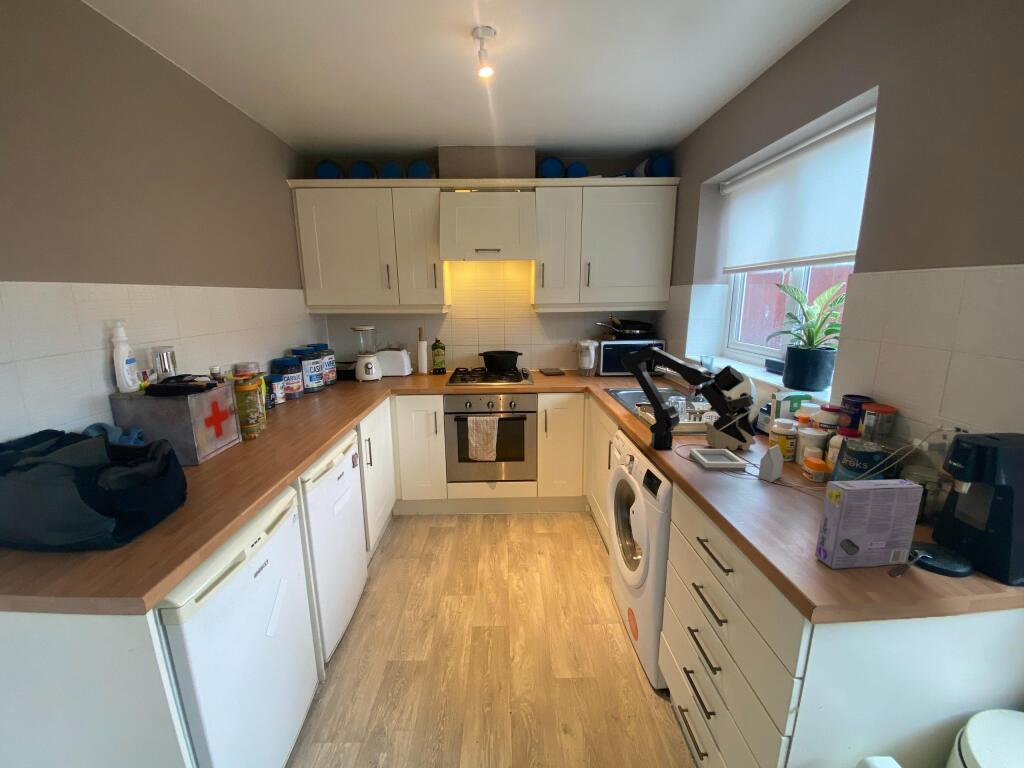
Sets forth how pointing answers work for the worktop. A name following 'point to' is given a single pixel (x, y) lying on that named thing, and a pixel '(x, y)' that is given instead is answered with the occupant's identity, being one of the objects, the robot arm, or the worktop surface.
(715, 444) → the toy train
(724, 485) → the worktop surface
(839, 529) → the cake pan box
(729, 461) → the tray
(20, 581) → the worktop surface
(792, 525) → the worktop surface
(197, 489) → the worktop surface
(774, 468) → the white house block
